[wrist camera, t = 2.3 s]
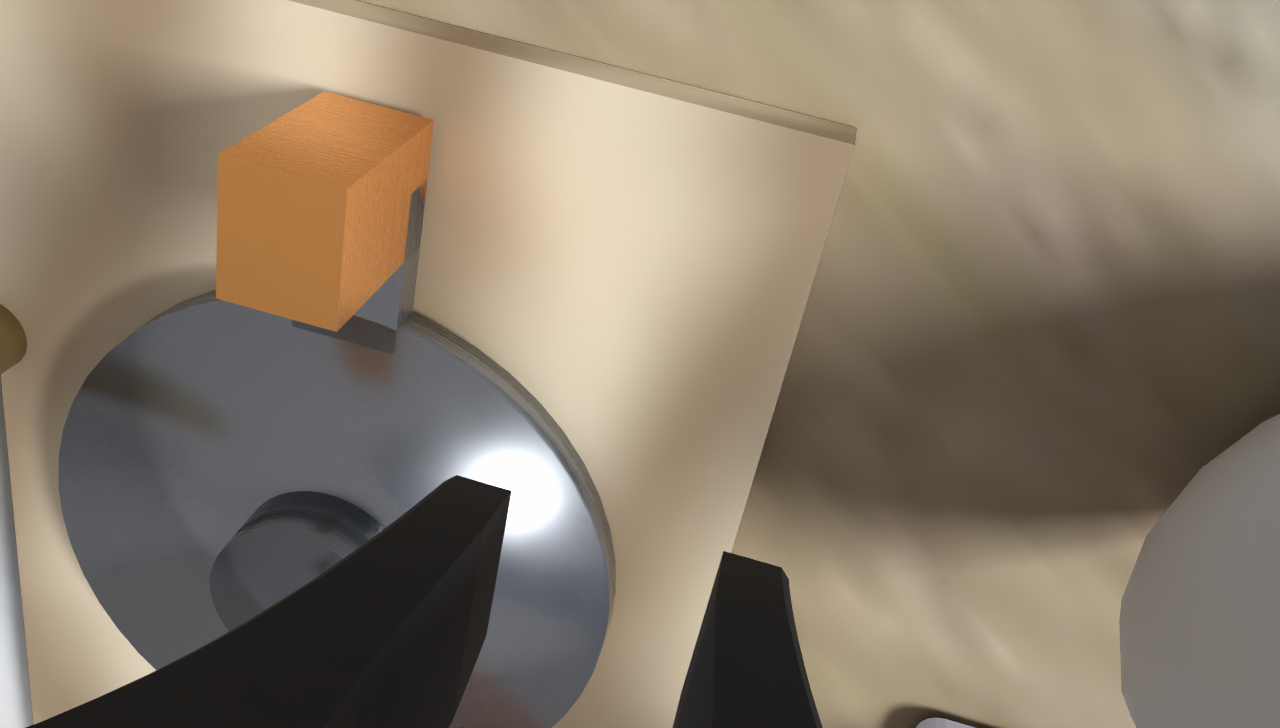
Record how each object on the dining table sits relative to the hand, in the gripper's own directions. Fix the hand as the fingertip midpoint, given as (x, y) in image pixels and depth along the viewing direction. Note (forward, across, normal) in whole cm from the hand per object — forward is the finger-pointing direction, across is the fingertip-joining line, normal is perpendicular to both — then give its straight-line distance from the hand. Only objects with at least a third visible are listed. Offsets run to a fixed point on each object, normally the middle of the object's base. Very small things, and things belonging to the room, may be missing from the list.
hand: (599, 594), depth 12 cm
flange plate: (+9, +6, +7) cm, 13 cm away
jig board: (+10, +6, +8) cm, 15 cm away
